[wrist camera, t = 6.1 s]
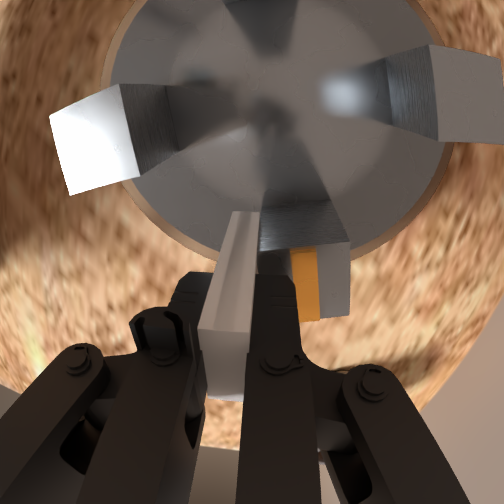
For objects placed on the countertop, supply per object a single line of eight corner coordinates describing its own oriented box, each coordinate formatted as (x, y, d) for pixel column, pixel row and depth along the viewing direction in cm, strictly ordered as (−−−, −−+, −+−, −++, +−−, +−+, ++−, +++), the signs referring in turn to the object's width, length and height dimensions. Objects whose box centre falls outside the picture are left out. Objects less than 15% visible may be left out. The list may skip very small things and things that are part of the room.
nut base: (69, 136, 16) (49, 142, 15) (257, -90, 8) (254, -106, 6) (289, 306, 22) (290, 326, 20) (488, 116, 13) (508, 121, 11)
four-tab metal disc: (172, 250, 18) (125, 331, 12) (117, 9, 11) (33, -18, 5) (423, 223, 15) (484, 295, 9) (396, -31, 8) (456, -82, 2)
